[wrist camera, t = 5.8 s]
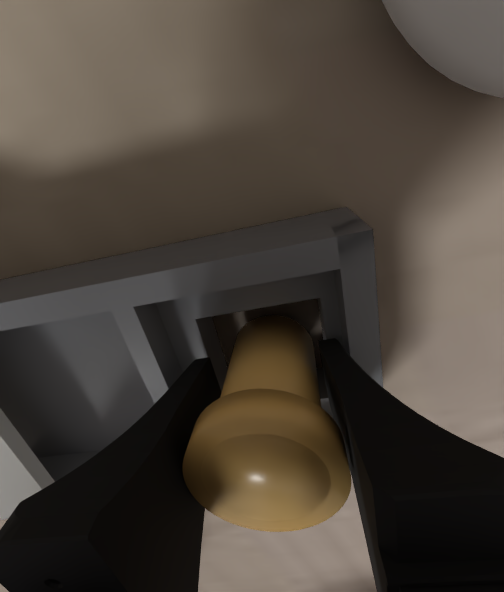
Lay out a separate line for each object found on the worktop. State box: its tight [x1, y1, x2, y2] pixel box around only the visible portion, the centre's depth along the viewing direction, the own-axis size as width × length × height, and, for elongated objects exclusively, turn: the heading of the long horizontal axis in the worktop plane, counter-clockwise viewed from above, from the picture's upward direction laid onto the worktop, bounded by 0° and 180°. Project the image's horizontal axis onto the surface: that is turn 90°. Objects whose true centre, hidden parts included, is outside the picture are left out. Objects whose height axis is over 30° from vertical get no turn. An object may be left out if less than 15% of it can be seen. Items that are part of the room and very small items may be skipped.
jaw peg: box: [182, 315, 351, 532], centre depth 11 cm, size 4×4×6 cm
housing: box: [0, 207, 383, 482], centre depth 14 cm, size 10×18×4 cm, turn 103°
